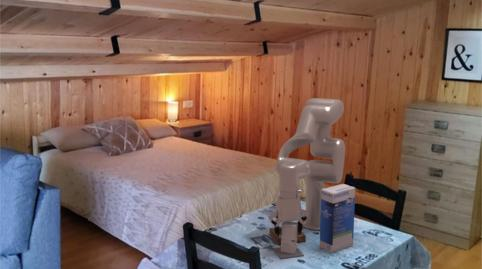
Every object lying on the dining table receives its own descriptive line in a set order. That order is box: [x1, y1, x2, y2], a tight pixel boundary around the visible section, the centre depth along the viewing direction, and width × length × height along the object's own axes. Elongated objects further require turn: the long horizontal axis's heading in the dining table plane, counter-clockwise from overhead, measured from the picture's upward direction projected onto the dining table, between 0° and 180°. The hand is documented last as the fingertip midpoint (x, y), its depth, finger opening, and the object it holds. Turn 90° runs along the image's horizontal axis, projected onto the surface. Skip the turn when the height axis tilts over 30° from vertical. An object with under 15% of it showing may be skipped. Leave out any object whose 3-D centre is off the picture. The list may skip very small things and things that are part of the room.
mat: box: [272, 246, 305, 260], centre depth 200 cm, size 10×10×1 cm
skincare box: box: [280, 221, 298, 254], centre depth 199 cm, size 6×4×12 cm
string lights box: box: [319, 183, 356, 254], centre depth 203 cm, size 13×8×26 cm, turn 124°
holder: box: [268, 226, 307, 246], centre depth 214 cm, size 12×12×3 cm
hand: (288, 233), depth 198 cm, fingers open, 9 cm apart
